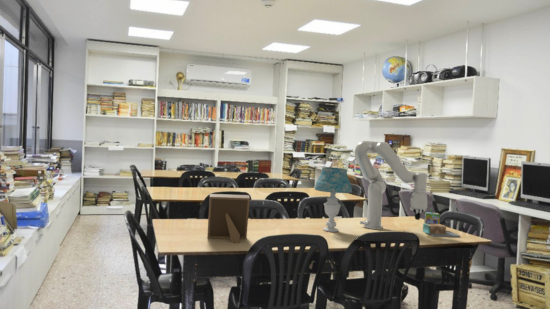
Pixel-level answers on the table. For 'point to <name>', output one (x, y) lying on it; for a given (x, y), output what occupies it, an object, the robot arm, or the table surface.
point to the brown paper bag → (434, 228)
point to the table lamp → (333, 192)
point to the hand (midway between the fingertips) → (417, 219)
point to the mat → (448, 234)
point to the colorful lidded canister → (432, 218)
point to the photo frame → (228, 216)
